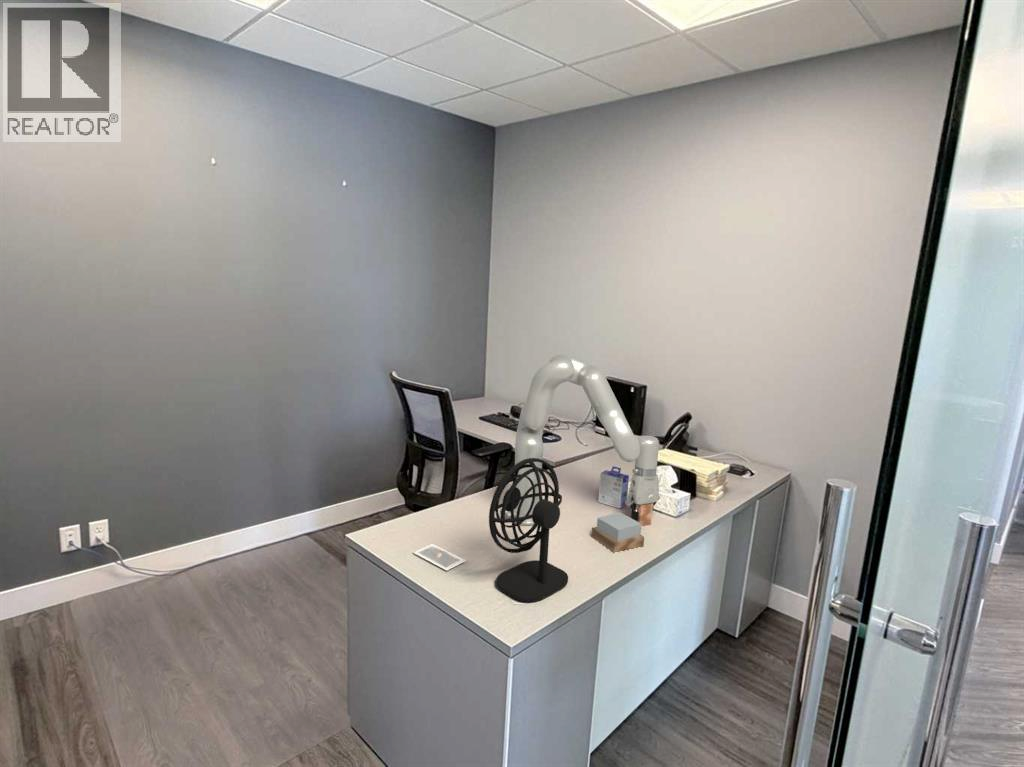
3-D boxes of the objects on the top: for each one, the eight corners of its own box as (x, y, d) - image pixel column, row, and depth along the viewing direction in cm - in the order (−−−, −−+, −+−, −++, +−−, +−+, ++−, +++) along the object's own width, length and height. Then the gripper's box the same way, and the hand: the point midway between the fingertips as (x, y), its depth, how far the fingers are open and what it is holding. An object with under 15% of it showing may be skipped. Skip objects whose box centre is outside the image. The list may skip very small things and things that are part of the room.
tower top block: (617, 541, 170) (618, 529, 169) (596, 529, 178) (597, 517, 177) (640, 535, 175) (641, 523, 174) (619, 523, 183) (620, 512, 183)
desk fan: (539, 554, 167) (546, 445, 160) (585, 577, 154) (593, 460, 148) (473, 585, 148) (477, 463, 142) (518, 614, 136) (524, 482, 129)
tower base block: (613, 555, 169) (614, 543, 169) (591, 538, 180) (592, 527, 179) (643, 548, 175) (644, 537, 174) (620, 533, 185) (621, 522, 184)
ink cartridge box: (627, 505, 208) (630, 469, 205) (620, 509, 204) (623, 473, 201) (604, 498, 214) (606, 463, 211) (597, 502, 209) (600, 466, 207)
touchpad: (446, 574, 154) (446, 567, 154) (412, 555, 163) (412, 549, 163) (466, 564, 160) (466, 557, 159) (432, 547, 169) (432, 540, 169)
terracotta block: (639, 527, 189) (641, 505, 188) (630, 521, 194) (632, 500, 192) (650, 524, 191) (652, 503, 190) (641, 519, 196) (643, 498, 194)
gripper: (632, 477, 182) (628, 527, 185) (671, 471, 189) (666, 520, 193) (619, 470, 189) (615, 519, 192) (657, 465, 196) (652, 512, 199)
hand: (641, 519), depth 192 cm, fingers closed on terracotta block, 5 cm apart
